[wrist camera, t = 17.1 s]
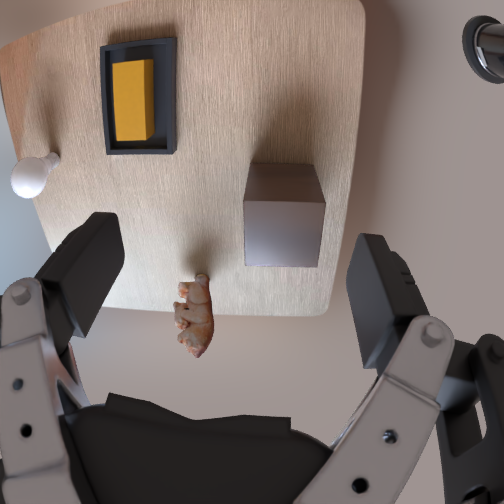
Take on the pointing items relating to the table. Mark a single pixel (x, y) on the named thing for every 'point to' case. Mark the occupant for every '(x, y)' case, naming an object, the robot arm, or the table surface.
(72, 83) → the table surface
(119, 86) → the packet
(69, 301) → the robot arm
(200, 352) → the figurine
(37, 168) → the lightbulb
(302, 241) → the stand
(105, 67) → the tray
